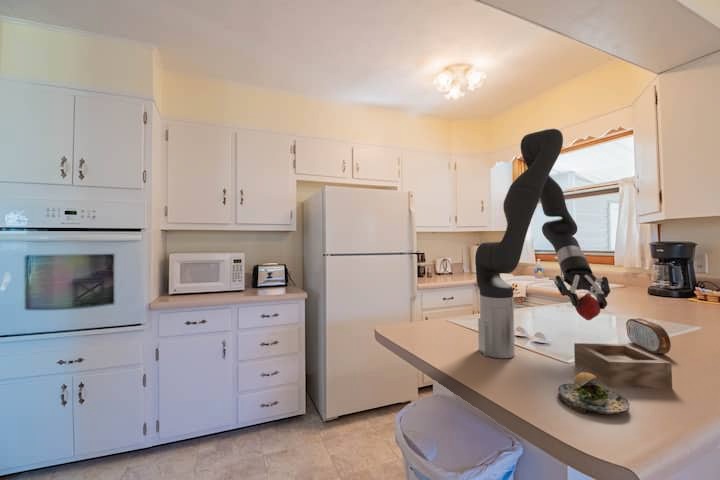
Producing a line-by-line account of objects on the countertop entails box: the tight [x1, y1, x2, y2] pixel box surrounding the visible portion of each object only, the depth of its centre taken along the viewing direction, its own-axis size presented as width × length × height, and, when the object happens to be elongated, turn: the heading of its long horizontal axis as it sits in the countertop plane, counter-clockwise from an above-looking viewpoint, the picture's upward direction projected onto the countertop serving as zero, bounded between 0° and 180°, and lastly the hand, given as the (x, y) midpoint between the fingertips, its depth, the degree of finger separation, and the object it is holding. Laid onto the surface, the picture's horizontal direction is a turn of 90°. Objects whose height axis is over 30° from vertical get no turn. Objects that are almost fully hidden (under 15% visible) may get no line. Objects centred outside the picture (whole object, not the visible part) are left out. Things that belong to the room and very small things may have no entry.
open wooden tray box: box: [573, 342, 673, 390], centre depth 75 cm, size 13×13×6 cm
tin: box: [625, 317, 672, 355], centre depth 93 cm, size 15×3×8 cm, turn 168°
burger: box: [557, 365, 630, 415], centre depth 62 cm, size 12×12×8 cm
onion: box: [575, 292, 601, 321], centre depth 89 cm, size 6×6×8 cm
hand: (590, 306), depth 87 cm, fingers closed on onion, 5 cm apart
